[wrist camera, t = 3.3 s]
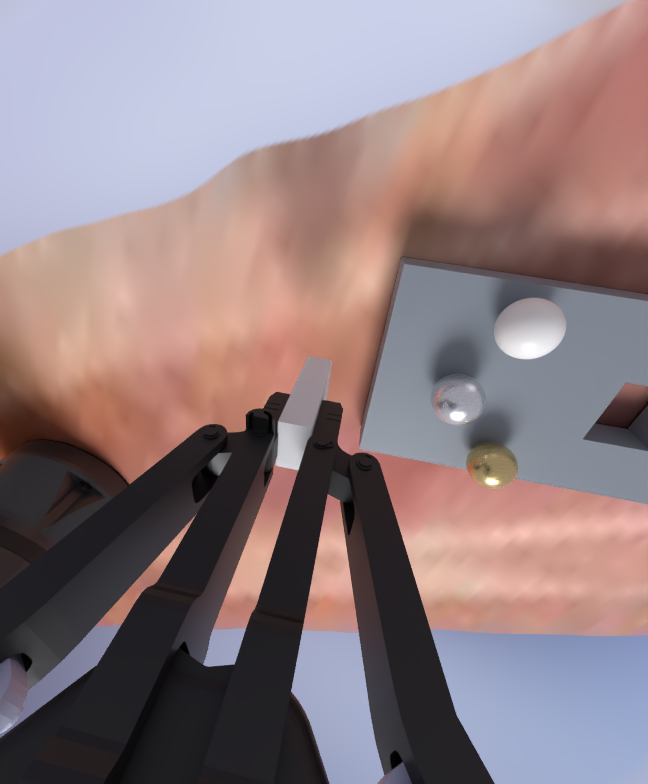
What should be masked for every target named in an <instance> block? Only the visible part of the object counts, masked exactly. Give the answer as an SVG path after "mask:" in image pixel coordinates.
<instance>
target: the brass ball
mask: <svg viewBox="0 0 648 784" xmlns="http://www.w3.org/2000/svg"><path fill="white" fill-rule="evenodd" d="M466 467H467V470H468V473H469V475H470V476H471V477H472V479H473V480H474V481H475V482H477V483H478V484H480V485H481V486H483V487H486V488H491V489H499V488H503V487H506V486H508V485H510V484H511V483H512V482H513V481H514V480H515V478H516V476H517V474H518V462H517V459H516V457H515V455H514V454H513V452H512V451H511V450H510V449H508V448H507V447H506V446H504V445H502V444H500V443H496V442H482V443H479V444H477V445H476V446H474V447H473V448H472V449H471V450H470V451H469V453H468V455H467V459H466Z"/></svg>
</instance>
